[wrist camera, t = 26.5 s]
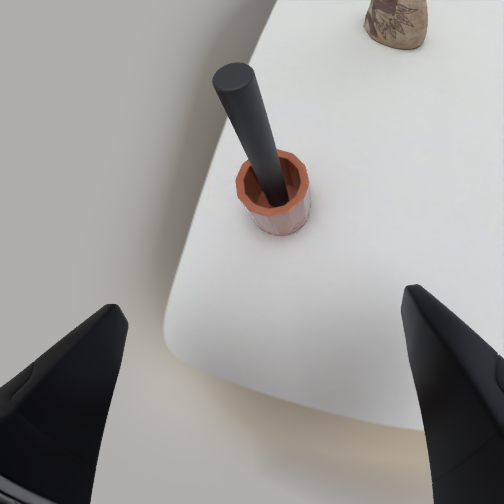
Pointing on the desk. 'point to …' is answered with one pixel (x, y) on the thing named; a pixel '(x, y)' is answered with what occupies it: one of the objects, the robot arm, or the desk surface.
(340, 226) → the desk surface
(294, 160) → the stylus holder
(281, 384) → the desk surface
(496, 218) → the desk surface
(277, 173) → the dark grey rod
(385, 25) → the figurine
